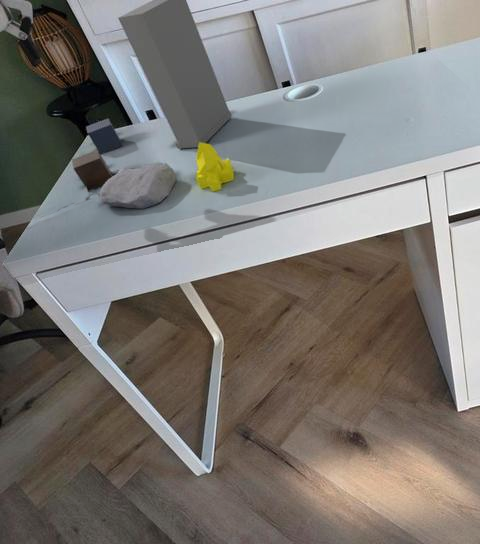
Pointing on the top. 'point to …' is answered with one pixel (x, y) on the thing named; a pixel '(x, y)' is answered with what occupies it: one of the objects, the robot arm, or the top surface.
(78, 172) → the walnut block
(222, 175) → the crumpled paper
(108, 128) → the slate block
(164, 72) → the tall grey pillar
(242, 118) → the top surface
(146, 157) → the top surface
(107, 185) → the grey rock
